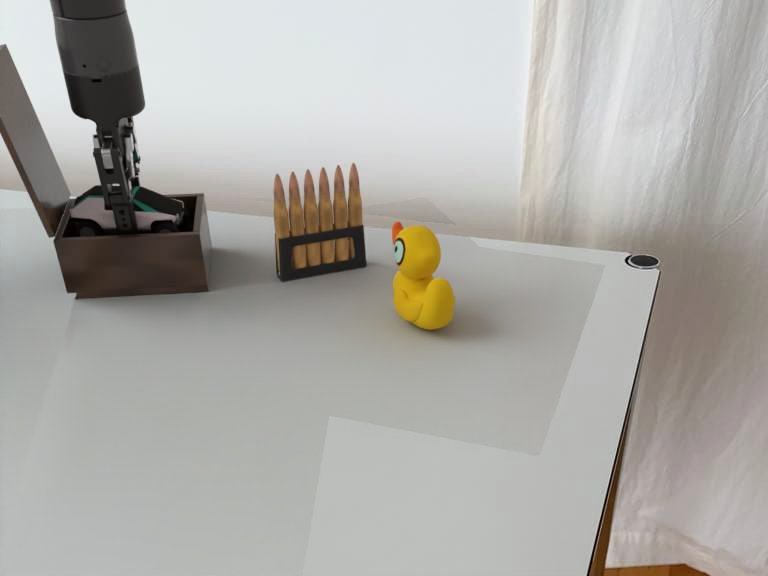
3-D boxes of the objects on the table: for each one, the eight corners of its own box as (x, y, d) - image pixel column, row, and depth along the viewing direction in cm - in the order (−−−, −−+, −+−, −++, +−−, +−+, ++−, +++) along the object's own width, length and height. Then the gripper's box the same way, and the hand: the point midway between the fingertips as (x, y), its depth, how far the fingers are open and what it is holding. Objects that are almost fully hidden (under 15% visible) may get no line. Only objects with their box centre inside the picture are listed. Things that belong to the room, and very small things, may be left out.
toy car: (90, 224, 106) (79, 179, 102) (191, 227, 106) (184, 181, 102) (74, 246, 101) (63, 199, 98) (180, 249, 101) (173, 202, 98)
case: (211, 247, 111) (203, 192, 107) (208, 291, 103) (199, 234, 98) (82, 253, 110) (69, 198, 105) (68, 298, 101) (52, 241, 97)
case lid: (6, 43, 94) (-1, 45, 94) (-19, 76, 85) (-26, 78, 86) (71, 194, 105) (65, 195, 105) (55, 236, 97) (48, 238, 97)
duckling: (374, 302, 101) (372, 215, 95) (416, 292, 103) (417, 206, 96) (421, 349, 94) (423, 258, 87) (465, 337, 96) (471, 247, 89)
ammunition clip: (280, 281, 105) (271, 178, 97) (276, 275, 106) (266, 172, 98) (366, 266, 108) (364, 164, 100) (361, 260, 109) (358, 158, 101)
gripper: (72, 43, 96) (105, 198, 107) (49, 83, 85) (89, 251, 97) (144, 41, 97) (169, 196, 108) (130, 82, 86) (160, 248, 97)
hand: (131, 222), depth 102 cm, fingers closed on toy car, 6 cm apart
